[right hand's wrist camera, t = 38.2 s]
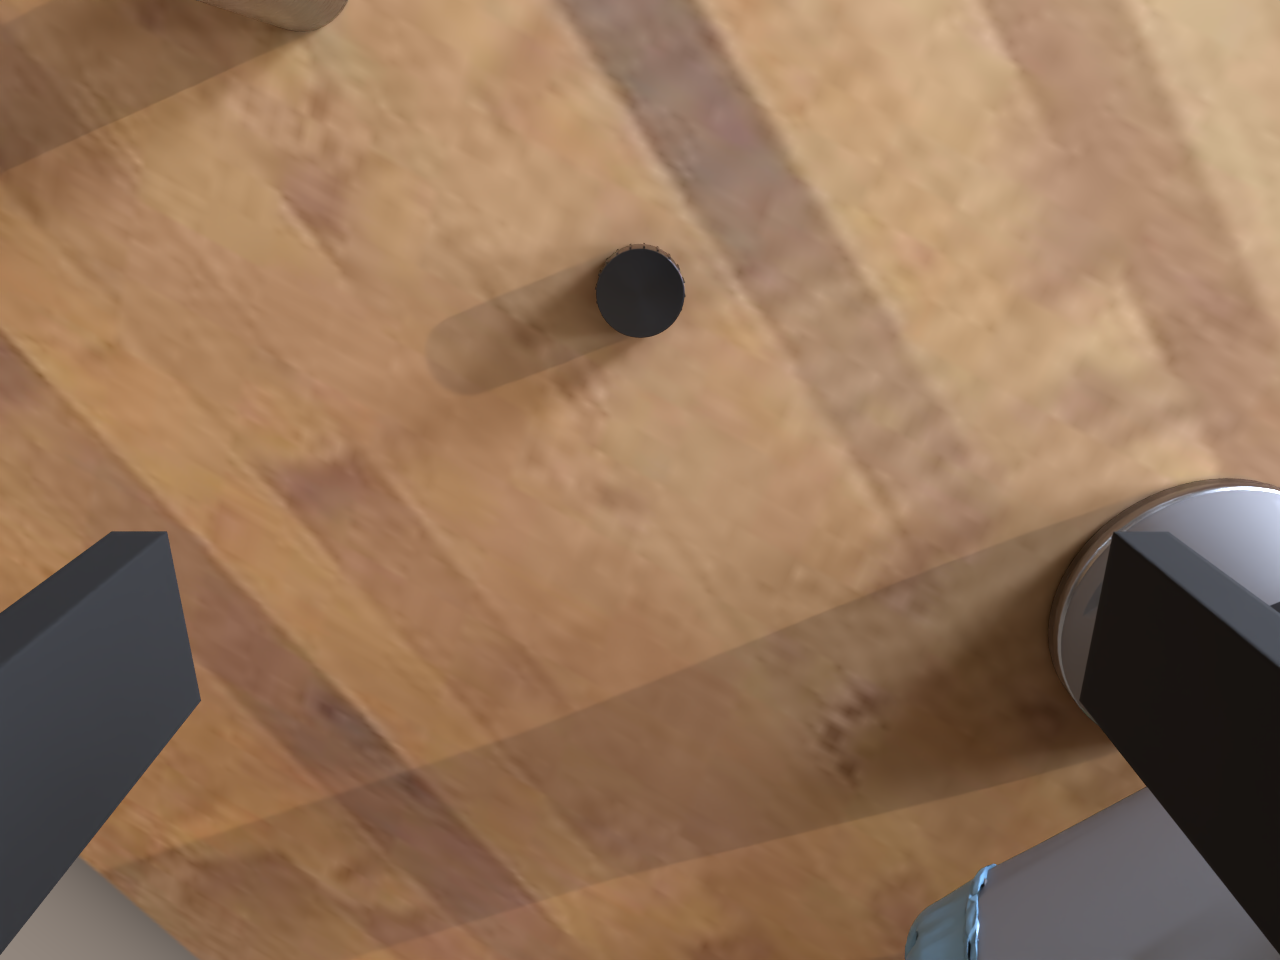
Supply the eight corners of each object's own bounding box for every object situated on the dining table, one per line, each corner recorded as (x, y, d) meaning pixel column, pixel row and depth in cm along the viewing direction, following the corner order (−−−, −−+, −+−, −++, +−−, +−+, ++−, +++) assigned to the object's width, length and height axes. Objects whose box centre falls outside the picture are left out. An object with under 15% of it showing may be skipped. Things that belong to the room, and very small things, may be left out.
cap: (588, 318, 42) (586, 326, 40) (608, 233, 41) (606, 237, 39) (671, 339, 43) (672, 348, 41) (693, 255, 41) (695, 260, 39)
